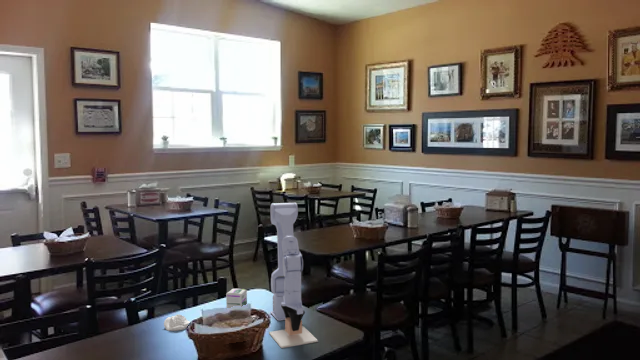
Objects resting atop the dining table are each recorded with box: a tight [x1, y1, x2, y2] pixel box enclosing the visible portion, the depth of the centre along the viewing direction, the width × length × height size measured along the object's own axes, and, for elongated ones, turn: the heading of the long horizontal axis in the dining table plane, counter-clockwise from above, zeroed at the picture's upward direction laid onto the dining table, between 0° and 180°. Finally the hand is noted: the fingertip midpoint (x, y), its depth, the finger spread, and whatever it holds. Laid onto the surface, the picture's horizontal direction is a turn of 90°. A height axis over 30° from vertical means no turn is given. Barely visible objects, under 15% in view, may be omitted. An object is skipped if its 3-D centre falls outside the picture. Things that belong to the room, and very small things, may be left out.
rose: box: [163, 314, 191, 332], centre depth 186 cm, size 10×4×10 cm
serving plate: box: [268, 325, 319, 349], centre depth 176 cm, size 13×13×1 cm
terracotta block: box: [284, 317, 303, 335], centre depth 175 cm, size 4×4×4 cm
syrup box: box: [225, 288, 248, 309], centre depth 181 cm, size 6×6×14 cm
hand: (292, 327), depth 175 cm, fingers closed on terracotta block, 4 cm apart
